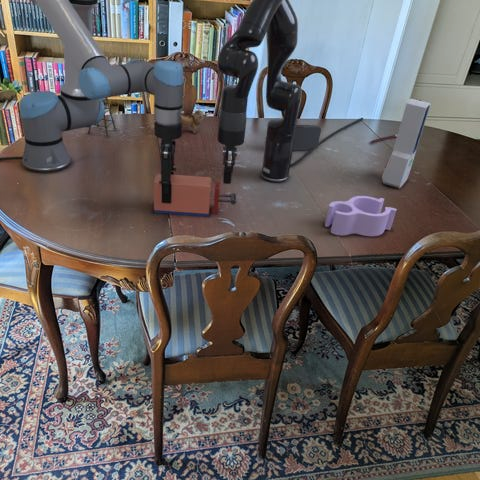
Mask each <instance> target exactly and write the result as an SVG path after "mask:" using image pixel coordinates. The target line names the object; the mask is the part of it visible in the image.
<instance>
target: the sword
mask: <svg viewBox="0 0 480 480" xmlns="http://www.w3.org/2000/svg"><path fill="white" fill-rule="evenodd" d="M397 135H398V133H397V134H396V133H395V134H392V135H389V136H383V137H379V138H377V139H373V140H371V141H370V145H372V144H374V143H377V142H381V141H384V140H389V139H393V138H397Z"/></svg>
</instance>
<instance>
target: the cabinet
mask: <svg viewBox="0 0 480 480" xmlns="http://www.w3.org/2000/svg"><path fill="white" fill-rule="evenodd" d="M159 181H161V173H156V174H155V177H154V181H153V213H154V214H167V215H182V216H183V215H184V216H197V217H209V216H210V207H209V204H211V191H210V189H212V177H211V176H196V175H185V174H184V175H183V174H174V175H171V203H162V184H161V183H159Z"/></svg>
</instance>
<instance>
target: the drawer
mask: <svg viewBox="0 0 480 480" xmlns="http://www.w3.org/2000/svg"><path fill="white" fill-rule="evenodd" d="M214 184H215V185H214V196H213V197H214V199H213V214H218V212H219V203H230V204H231V205H233V206H234V205H236V203H237V194H236V193H234V192H232V193H230V194H226V193H225V194H224V193H223V194H222V193H220V184H221V183H220V181H215V183H214ZM211 189H212V188H211ZM211 189H210V192H211ZM221 198H230V199H221ZM210 204H211V203H210ZM210 204H209V208H210Z"/></svg>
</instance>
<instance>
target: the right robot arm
mask: <svg viewBox="0 0 480 480" xmlns="http://www.w3.org/2000/svg"><path fill="white" fill-rule="evenodd" d="M298 21H299V20H298V17H297V15H296V11H295V10H294V8H293V6H292V3H290V0H252V1H251V2H250V3H249V5H247V7H246V10H245V11H244V13H243V16H242V18H241V20H240V23H239V25H238V27H237V29H236V30H235V31H234V32H233V34H232V35H231V36H230V38H229V39H228V40H227V41H226V42H225V43H224V45H223V46H222V48H221V49H220V51H219V53H218V56H217V61H216V63H217V69H218V71H219V73H220V74H223V75H224V76H228V77H232V78H236V79H238V81H237V82H236V84H229V85H225V86H224V87H223V88H222V91H221V100H220V111H219V115H218V125H217V126H218V128H217V142H218V143H219V144H221V145H223V146H222V165H223V178H222V179H223V180H222V183H223V184H224V185H230V184H231V183H232V174H233V173H234V166H236V158H237V157H238V156H237V153H238V148H237V146H238V147H240V146H242V145H243V144H245V139H246V130H247V129H246V127H247V118H248V117H247V110H248V109H247V108H248V102H249V101H248V100H249V95H250V91H251V89H252V86H253V83H254V80H255V78H256V77H257V76H256V75H257V72H258V70H259V59H258V56H257V54H256V53H255V52H254V51H251V50H249V49H250V48H251V49H252V48H258V47H259V46H261V45H262V43H263V41H264V39H266V40H265V41H266V55H267V56H266V58H267V59H266V60H267V66H266V67H267V68H266V69H267V71H266V85H265V86H266V87H265V88H266V90H265V100H266V101H265V102H266V105H267V107H268V108H270V109H271V110H275V111H279V112H283V113H284V116H283V117H277V118H272V119H270V120H269V121H268V122H267V128H266V136H265V144H264V152H263V159H262V167H261V172H260V176H261V178H262V179H263V180H265V181H268V182H271V183H282V182H285V181H287V179H288V178H289V175H290V170H291V167H294V166H295V165H297V164H299V163H300V162H301V161H303V160H304V159H306V157H307V156H308V155H310V154H311V153H312V152H314V150H315V149H314V148H312V149H311V150H307V152H306V153H305V154H303V155H302V156H301V157H300V158H298V159H297V160H295V161H294V162H293V163H292V157H293V151H291V148H292V142H293V136H294V130H295V126H296V125H297V122H298V116H299V112H300V108H301V103H302V97H303V96H302V95H303V90H302V87H301V86H300V85H299V84H297V83H296V84H295V83H292V82H289V81H288V82H287V81H284V80H282V71H283V68H284V66H285V64H286V63H287V61H288V60H289V59H290V57H291V56H292V55H293V54H294V52H295V50H296V48H297V45H298V41H299V40H298V38H299V32H298V31H299V22H298ZM265 36H266V37H265ZM362 120H364V117H361V118H359V119H357V120H355V121H353V122H351V123H349V124H347V125H344V126H343V127H341V128H339V129H337V130H336V131H334V132H332V133H330V134H329V135H327V136H326V137H324V138H323V139H321V141H319V144H318V147H319V146H320V145H322V144H323V143H324V142H326V141H327V140H329V139H331V138H332V137H333V136H334V135H336V134H338V133H339V132H341V131H343V130H345V129H347V128H349V127H351V126H352V125H355V124H357V123H359V122H361V121H362Z"/></svg>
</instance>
